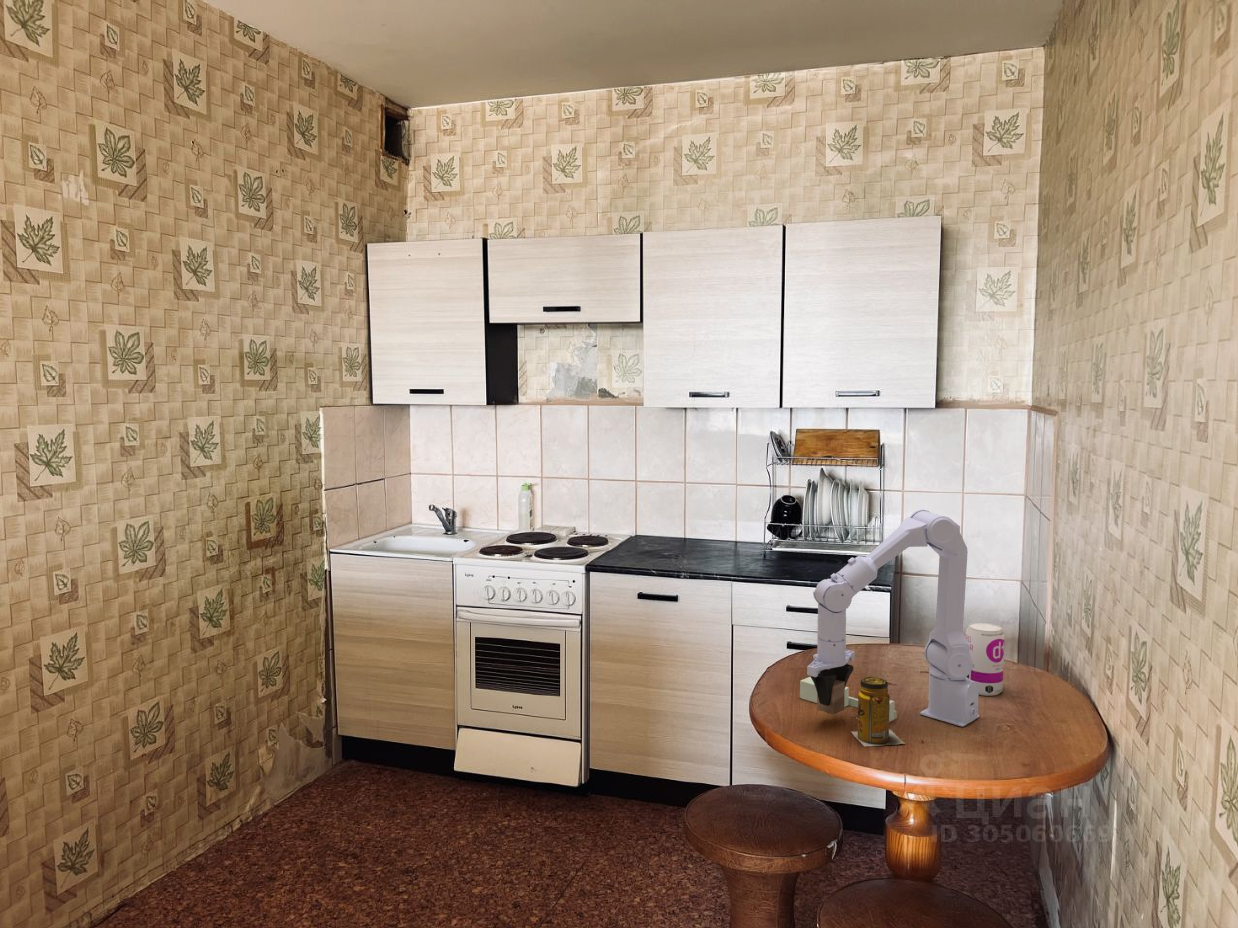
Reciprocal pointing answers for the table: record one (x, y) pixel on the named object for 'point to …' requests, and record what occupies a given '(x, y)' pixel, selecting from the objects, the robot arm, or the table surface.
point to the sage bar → (810, 694)
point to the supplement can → (986, 656)
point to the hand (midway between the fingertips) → (830, 701)
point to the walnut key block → (834, 699)
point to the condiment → (874, 714)
